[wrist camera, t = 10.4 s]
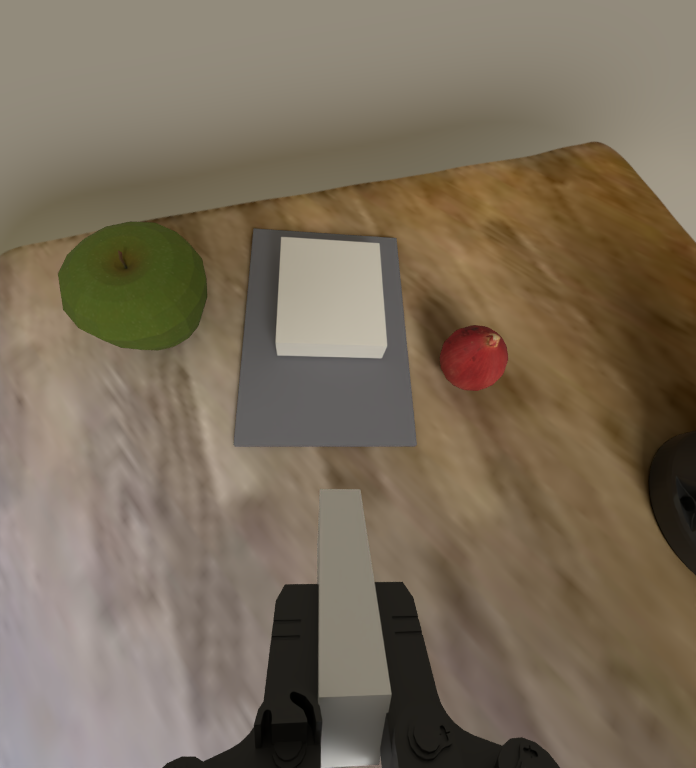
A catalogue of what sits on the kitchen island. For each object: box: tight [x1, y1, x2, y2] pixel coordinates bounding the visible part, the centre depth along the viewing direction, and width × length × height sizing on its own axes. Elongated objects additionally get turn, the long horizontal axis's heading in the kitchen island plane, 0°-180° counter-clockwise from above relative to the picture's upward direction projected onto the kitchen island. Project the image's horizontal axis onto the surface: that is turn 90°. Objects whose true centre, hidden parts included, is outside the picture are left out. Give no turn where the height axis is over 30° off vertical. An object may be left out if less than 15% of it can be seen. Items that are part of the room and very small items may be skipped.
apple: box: [58, 222, 207, 350], centre depth 31 cm, size 11×10×10 cm
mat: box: [234, 229, 417, 447], centre depth 37 cm, size 24×16×1 cm, turn 1°
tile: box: [275, 237, 387, 358], centre depth 36 cm, size 3×10×12 cm
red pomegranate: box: [440, 325, 508, 391], centre depth 33 cm, size 6×6×8 cm
